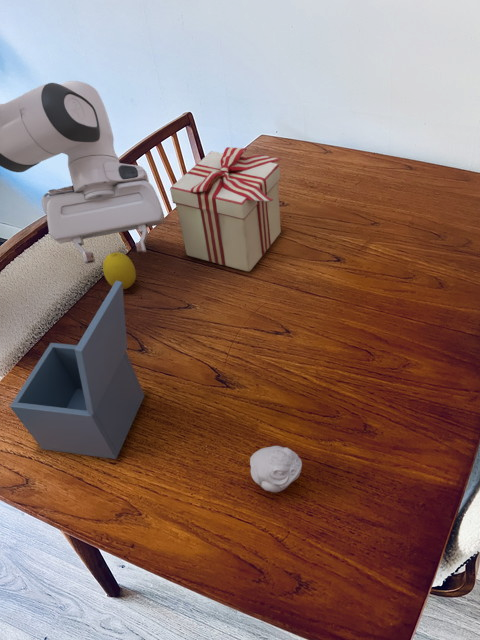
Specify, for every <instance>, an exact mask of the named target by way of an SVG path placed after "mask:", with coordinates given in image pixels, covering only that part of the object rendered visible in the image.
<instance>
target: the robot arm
mask: <svg viewBox="0 0 480 640" xmlns="http://www.w3.org/2000/svg"><path fill="white" fill-rule="evenodd" d="M107 112H108V111H107V109H106V106H105V105H104V102H103V99H102V98H101V96H100V94H99V92H98V90H97V89H96V88H95V87H93V86H92V85H91V84H89V83H87V82H84V81H79V80H69V81H65V82H62V83H60V84H59V83H57V82H48V83H45V84H42V85H39V86H37V87H35V88H33V89H31V90H29V91H26V92H24V93H23V94H22V95H20V96H18V97H16V98H13V99H12V100H10V101H7V102H5V103H0V167H1V168H2V169H5V170H7V171H10V172H13V173H24V172H27V171H28V170H29V169H31V168H33V167H35V166H37V165H38V164H40V163H41V162H44V161H46V160H48V159H51V158H54V157H57V156H58V155H61V154H64V155H66V156H67V167H68V171H69V175H70V179H71V180H70V181H71V184H72V185H69V186H63V187H61V188H57V189H56V188H51V189H49V190H47V192H46V193H44V194H43V196H42V198H41V205H42V209H43V212H44V214H45V215H46V220H47V221H46V222H47V227H48V233H49V236H50V238H51V239H52V240H53V241H55V242H57V243H59V244H65V243H70V242H72V243H73V245H74V247H75V248H76V249H77V250H78V251H79V252H80V253H81V254H82V256H83V261H84V263H85V264H86V265H88V264H93V263H95V262H96V261H95V258H94V253H93V252H92V251H91V250H90V251H87V250H86V249H85V248H84V247H83V246H85V242H84V240H85V239H86V240H87V239H92V238H98V237H103V236H108V235H113V234H118V233H123V232H129V231H133V230H138V232H139V233H140V239H139V241H137V242H135V247H136V253H137V254H138V255H139V254H145V253H147V248H146V241H147V238H148V235H149V230H148V228H151V227H154V226H156V227H157V226H161V225H163V223H164V221H165V219H166V218H165V214H164V209H163V207H162V204H161V202H160V199H159V196H158V194H157V192H156V190H155V188H154V186H153V184H151V182H150V180H149V175H148V173H147V171H146V169H144V167H143V166H141V165H138V164H137V165H136V164H129V163H121V162H120V159H119V157H118V155H117V153H116V152H115V148H114V142H115V139H114V138H115V137H114V133H113V129H112V126H111V122H110V119H109V115H108V113H107Z"/></svg>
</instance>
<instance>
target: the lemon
mask: <svg viewBox="0 0 480 640" xmlns="http://www.w3.org/2000/svg"><path fill="white" fill-rule="evenodd" d="M102 271H103V275H104V278H105V280H106V281H107V283H108V284H109V285H110V286H111V287H113V285H114V283H115V282H116V281H120V282H122V286H123V290H127V289H128V288H131V287H132V286H133V284H134V283H135V281H136V278H137V277H136V276H137V271H136V268H135V265H134V263H133V261H132V260H131V258H130V257H129V256H128V255H127V254H125V253H123V252H119V251H117V252H111V253H109V254H108V255H106V256H105V258H104V259H103V262H102Z"/></svg>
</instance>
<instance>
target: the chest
mask: <svg viewBox="0 0 480 640" xmlns="http://www.w3.org/2000/svg"><path fill="white" fill-rule="evenodd" d="M77 345H78V344H70V343H69V344H68V343H59V342H58V343H57V342H50V343H49V345H48V346H47V348H46V349H45V351H44V352H43V354H42V356H41V357H40V358H39V360H38V362H37V363H36V365H35V366H34V368H33V369H32V371H31V373H30V374H29V375H28V377H27V379H26V380H25V382H24V384H23V385H22V387H21V388H20V389H19V391H18V393H17V394H16V395H15V397H14V399H13V400H12V402H11V404H10V405H9V407H10V409H11V410H12V412H13V413H14V414H15V416H16V417H17V418H18V420H19V421H20V423H22V425H23V426H24V427H25V429H26V430H27V431H28V433H29V434H30V436H31V437H32V438H33V440H34V441H35V442H36V443H37V445H38V446H39V448H40V449H41V450H44V451H45V450H46V451H51V452H59V453H68V454H74V455H82V456H90V457H96V458H104V459H113V460H117V458H118V457H119V454H120V452H121V450H122V447H123V445H124V443H125V440H126V438H127V436H128V434H129V431H130V429H131V427H132V425H133V423H134V421H135V418H136V416H137V414H138V411H139V410H140V408H141V404H142V403H143V401H144V399H145V393H144V390H143V388H142V386H141V383H140V381H139V379H138V376H137V374H136V371H135V369H134V367H133V364H132V361H131V359H130V357H129V355H128V353H127V351H126V352H125V354H124V356H123V358H122V360H121V362H120V364H119V366H118V368H117V370H116V372H115V374H114V376H113V377H112V379H111V381H110V383H109V385H108V387H107V389H106V391H105V393H104V395H103V397H102V399H101V401H100V403H99V405H98V407H97V409H96V411H95V413H94V414H89V413H87V408H86V403H85V398H84V393H83V388H82V383H81V378H80V373H79V368H78V363H77V358H76V353H75V348H76V347H77Z"/></svg>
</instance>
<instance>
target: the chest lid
mask: <svg viewBox="0 0 480 640" xmlns="http://www.w3.org/2000/svg"><path fill="white" fill-rule="evenodd" d="M124 300H125V299H124V289H123V286H122V282H120V281H116V282H115V283H114V285H113V286H111V289H110V290H109V292H108V294H107V295H106V297H105V298H104V300H103V302H102V303H101V305H100V307H99V308H98V309H97V311H96V313H95V315H94V317H93V318H92V320H91V322H90V323H89V325H88V327H87V328H86V330H85V332H84V333H83V335H82V337H81V338H80V340H79V342H78V344H76V345H77V347H76V348H75V353H76V358H77V363H78V368H79V373H80V378H81V383H82V388H83V393H84V398H85V403H86V408H87V413H89V414H94V413H95V411H96V409H97V407H98V405H99V403H100V401H101V399H102V397H103V395H104V393H105V391H106V389H107V387H108V385H109V383H110V381H111V379H112V377H113V376H114V374H115V372H116V370H117V368H118V366H119V364H120V362H121V360H122V358H123V356H124V354H125V352H127V351H128V336H127V324H126V313H125V311H126V310H125V301H124Z"/></svg>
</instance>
